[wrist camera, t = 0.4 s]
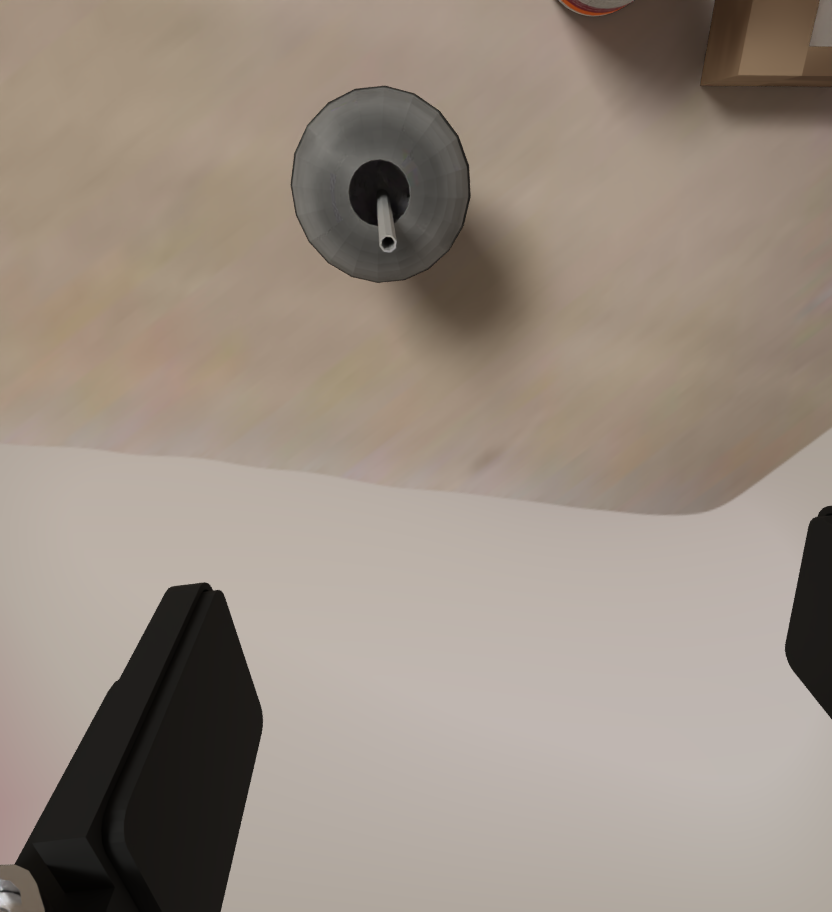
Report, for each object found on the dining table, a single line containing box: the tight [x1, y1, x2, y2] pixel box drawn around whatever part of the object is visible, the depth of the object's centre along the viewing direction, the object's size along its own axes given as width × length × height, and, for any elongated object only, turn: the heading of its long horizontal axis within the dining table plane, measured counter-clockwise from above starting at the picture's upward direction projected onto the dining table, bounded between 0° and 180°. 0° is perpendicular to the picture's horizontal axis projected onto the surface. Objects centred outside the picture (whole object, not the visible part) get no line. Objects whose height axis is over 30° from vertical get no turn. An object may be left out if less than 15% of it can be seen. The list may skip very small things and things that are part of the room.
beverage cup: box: [291, 86, 471, 283], centre depth 26 cm, size 7×7×20 cm
